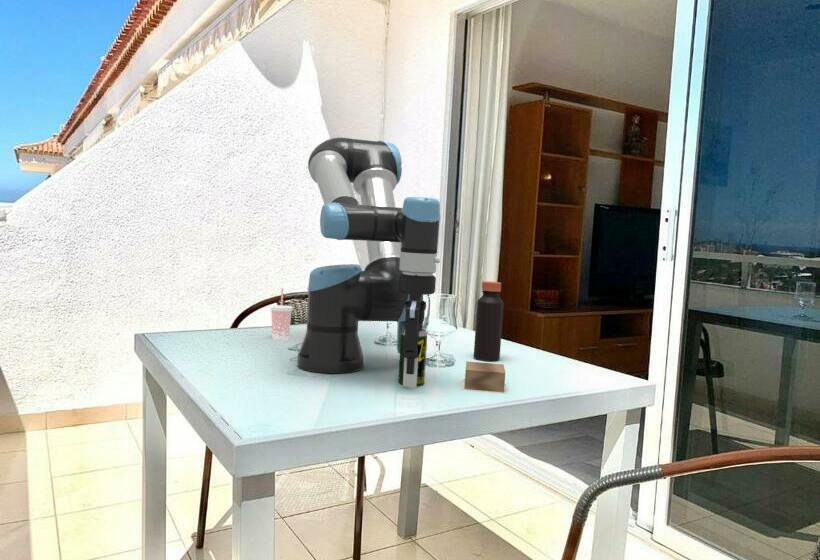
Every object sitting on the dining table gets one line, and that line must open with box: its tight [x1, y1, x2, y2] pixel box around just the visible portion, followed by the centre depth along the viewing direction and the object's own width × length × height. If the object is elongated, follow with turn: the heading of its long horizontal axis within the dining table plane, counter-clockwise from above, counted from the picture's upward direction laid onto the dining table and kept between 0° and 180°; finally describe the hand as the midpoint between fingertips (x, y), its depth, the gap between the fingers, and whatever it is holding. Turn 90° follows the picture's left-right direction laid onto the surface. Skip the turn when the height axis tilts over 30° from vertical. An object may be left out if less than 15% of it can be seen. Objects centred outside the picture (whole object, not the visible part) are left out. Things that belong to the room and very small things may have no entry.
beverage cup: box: [270, 288, 294, 341], centre depth 168 cm, size 6×6×14 cm
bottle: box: [473, 280, 504, 362], centre depth 156 cm, size 7×7×20 cm
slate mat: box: [461, 378, 507, 394], centre depth 127 cm, size 16×10×1 cm, turn 84°
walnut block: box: [464, 361, 506, 393], centre depth 126 cm, size 8×8×4 cm
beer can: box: [397, 327, 428, 388], centre depth 125 cm, size 5×5×12 cm
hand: (411, 385), depth 125 cm, fingers closed on beer can, 5 cm apart
